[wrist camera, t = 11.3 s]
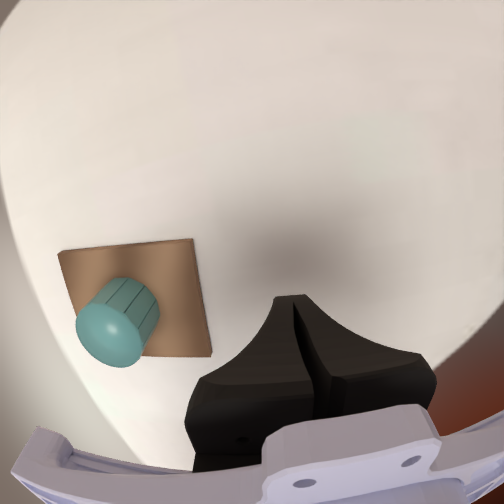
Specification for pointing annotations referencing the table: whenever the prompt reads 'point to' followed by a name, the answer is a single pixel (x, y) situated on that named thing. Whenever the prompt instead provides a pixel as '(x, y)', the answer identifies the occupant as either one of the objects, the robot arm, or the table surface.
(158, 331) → the stud board
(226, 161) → the table surface
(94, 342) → the cap
